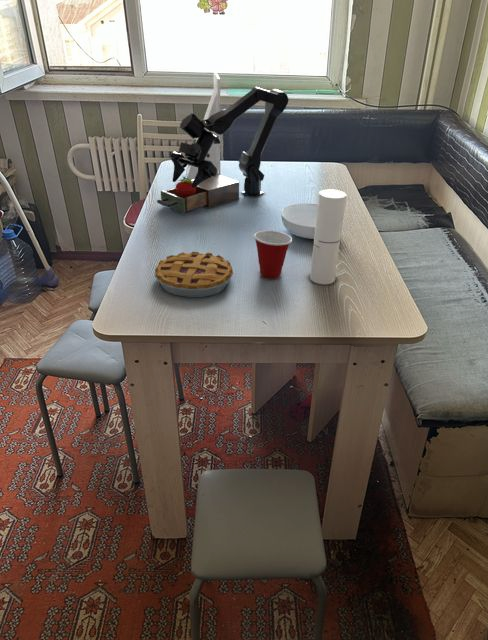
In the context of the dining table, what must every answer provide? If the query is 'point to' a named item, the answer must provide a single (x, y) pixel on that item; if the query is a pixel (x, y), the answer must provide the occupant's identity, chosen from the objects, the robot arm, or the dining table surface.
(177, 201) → the drawer
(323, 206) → the cylindrical container
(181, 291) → the pie
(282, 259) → the plastic cup
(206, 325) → the dining table surface
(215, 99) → the white bracket plate
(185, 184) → the strawberry
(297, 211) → the serving bowl
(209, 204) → the cabinet
